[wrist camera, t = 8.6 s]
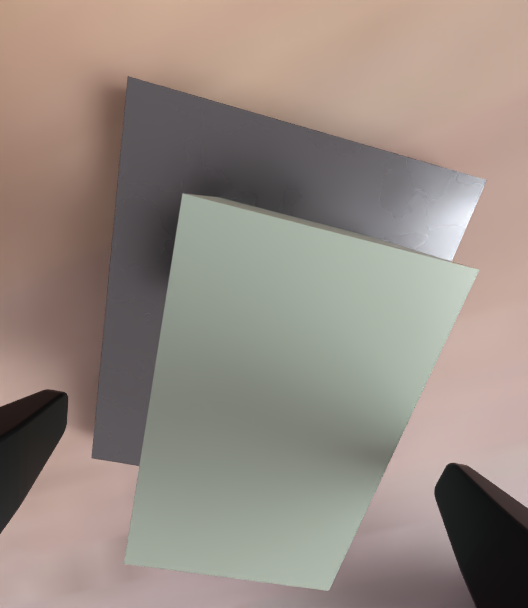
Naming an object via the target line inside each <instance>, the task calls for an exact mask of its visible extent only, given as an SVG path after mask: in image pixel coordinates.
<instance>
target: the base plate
mask: <svg viewBox="0 0 528 608" xmlns="http://www.w3.org/2000/svg"><path fill="white" fill-rule="evenodd" d="M486 181H487V180H485V179H481V178H478V177H474V176H471V175H468V174H464V173H461V172H457V171H454V170H450V169H447V168H443V167H440V166H436V165H433V164H430V163H426V162H423V161H419V160H416V159H412V158H409V157H405V156H402V155H398V154H395V153H391V152H388V151H385V150H381V149H378V148H374V147H371V146H367V145H364V144H360V143H357V142H353V141H350V140H346V139H343V138H340V137H336V136H333V135H329V134H326V133H322V132H319V131H315V130H312V129H308V128H305V127H301V126H298V125H295V124H291V123H288V122H284V121H281V120H277V119H274V118H270V117H267V116H263V115H260V114H256V113H253V112H250V111H246V110H243V109H239V108H236V107H232V106H229V105H225V104H222V103H218V102H215V101H211V100H208V99H205V98H201V97H198V96H194V95H191V94H187V93H184V92H180V91H177V90H173V89H170V88H166V87H163V86H160V85H156V84H153V83H149V82H146V81H142V80H139V79H135V78H132V77H128V80H127V91H126V101H125V112H124V122H123V133H122V143H121V154H120V164H119V175H118V185H117V196H116V206H115V217H114V228H113V238H112V249H111V259H110V270H109V280H108V291H107V301H106V312H105V322H104V333H103V343H102V354H101V364H100V375H99V385H98V396H97V407H96V417H95V428H94V438H93V449H92V458H94V459H100V460H106V461H112V462H118V463H124V464H131V465H137V466H139V465H140V459H141V453H142V446H143V440H144V434H145V427H146V421H147V415H148V408H149V402H150V396H151V389H152V383H153V377H154V370H155V364H156V358H157V351H158V345H159V339H160V332H161V326H162V320H163V313H164V307H165V301H166V295H167V288H168V282H169V276H170V269H171V263H172V257H173V250H174V244H175V238H176V231H177V225H178V219H179V212H180V206H181V200H182V193H184V194H193V195H202V196H212V197H220V198H224V199H227V200H231V201H235V202H239V203H243V204H247V205H251V206H254V207H258V208H262V209H266V210H270V211H274V212H278V213H281V214H285V215H289V216H293V217H297V218H301V219H305V220H308V221H312V222H316V223H320V224H324V225H328V226H332V227H335V228H339V229H343V230H347V231H351V232H355V233H359V234H362V235H366V236H370V237H374V238H377V239H380V240H384V241H387V242H390V243H393V244H397V245H400V246H403V247H406V248H410V249H413V250H416V251H420V252H423V253H426V254H429V255H433V256H436V257H439V258H442V259H446V260H449V261H452V259H453V257H454V254H455V252H456V250H457V247H458V245H459V243H460V241H461V238H462V236H463V234H464V231H465V229H466V227H467V224H468V222H469V220H470V218H471V215H472V213H473V211H474V208H475V206H476V204H477V201H478V199H479V197H480V195H481V192H482V190H483V188H484V185H485V183H486Z"/></svg>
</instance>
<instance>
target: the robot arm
mask: <svg viewBox="0 0 528 608" xmlns="http://www.w3.org/2000/svg"><path fill="white" fill-rule="evenodd" d="M67 411H68V395H67V394H66V393H65V392H61V391H55V390H49V389H46V390H43V391H40V392H37V393H35V394H32V395H30V396H27V397H25V398H22V399H19V400H17V401H14V402H12V403H9V404H6V405H4V406H1V407H0V533H1V532H2V531H3V529H4V528H5V527H6V525H7V524H8V523H9V521H10V520H11V518H12V517H13V515H14V514H15V513H16V511H17V510H18V508H19V507H20V505H21V504H22V502H23V500H24V499H25V497H26V496H27V494H28V492H29V491H30V489H31V487H32V486H33V484H34V482H35V481H36V479H37V477H38V476H39V474H40V472H41V471H42V469H43V467H44V466H45V464H46V462H47V461H48V459H49V457H50V456H51V454H52V452H53V451H54V449H55V447H56V446H57V444H58V442H59V440H60V439H61V437H62V435H63V433H64V431H65V428H66V425H67ZM434 494H435V499H436V502H437V505H438V508H439V511H440V513H441V516H442V519H443V522H444V525H445V528H446V531H447V534H448V537H449V540H450V542H451V545H452V548H453V551H454V554H455V557H456V560H457V562H458V565H459V568H460V571H461V573H462V576H463V578H464V580H465V583H466V585H467V588H468V590H469V592H470V595H471V597H472V599H473V602H474V604H475V606H476V608H528V508H527V507H525V506H524V505H522V504H521V503H520V502H518V501H517V500H515V499H514V498H513V497H511V496H510V495H508V494H507V493H506V492H504V491H503V490H501V489H500V488H499V487H497V486H496V485H494V484H493V483H492V482H490V481H489V480H487V479H486V478H485V477H483V476H482V475H480V474H479V473H478V472H476V471H475V470H473V469H472V468H471V467H469V466H467V465H463V464H457V463H450V464H448V465H447V466H446V468H445V469H444V471H443V473H442V475H441V477H440V479H439V480H438V482H437V484H436V486H435V493H434Z"/></svg>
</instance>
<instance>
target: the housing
mask: <svg viewBox="0 0 528 608" xmlns="http://www.w3.org/2000/svg"><path fill="white" fill-rule="evenodd" d="M478 271H479V270H478V269H475V268H472V267H469V266H465V265H462V264H459V263H455V262H452V261H449V260H446V259H442V258H439V257H436V256H433V255H429V254H426V253H423V252H420V251H416V250H413V249H410V248H406V247H403V246H400V245H397V244H393V243H390V242H387V241H384V240H380V239H377V238H374V237H370V236H366V235H362V234H359V233H355V232H351V231H347V230H343V229H339V228H335V227H332V226H328V225H324V224H320V223H316V222H312V221H308V220H305V219H301V218H297V217H293V216H289V215H285V214H281V213H278V212H274V211H270V210H266V209H262V208H258V207H254V206H251V205H247V204H243V203H239V202H235V201H231V200H227V199H224V198H220V197H212V196H202V195H193V194H184V193H182V200H181V206H180V212H179V219H178V225H177V231H176V238H175V244H174V250H173V257H172V263H171V269H170V276H169V282H168V288H167V295H166V301H165V307H164V313H163V320H162V326H161V332H160V339H159V345H158V351H157V358H156V364H155V370H154V377H153V383H152V389H151V396H150V402H149V408H148V415H147V421H146V427H145V434H144V440H143V446H142V453H141V459H140V465H139V472H138V478H137V484H136V491H135V497H134V503H133V510H132V516H131V522H130V529H129V535H128V541H127V548H126V554H125V560H124V564H129V565H136V566H144V567H151V568H159V569H166V570H174V571H181V572H189V573H197V574H204V575H212V576H219V577H227V578H234V579H242V580H249V581H257V582H264V583H272V584H280V585H287V586H295V587H302V588H310V589H317V590H325V591H329V589H330V587H331V585H332V583H333V581H334V579H335V577H336V574H337V572H338V570H339V568H340V566H341V564H342V562H343V560H344V557H345V555H346V553H347V551H348V549H349V547H350V545H351V542H352V540H353V538H354V536H355V534H356V532H357V530H358V528H359V525H360V523H361V521H362V519H363V517H364V515H365V513H366V510H367V508H368V506H369V504H370V502H371V500H372V498H373V496H374V493H375V491H376V489H377V487H378V485H379V483H380V481H381V478H382V476H383V474H384V472H385V470H386V468H387V466H388V463H389V461H390V459H391V457H392V455H393V453H394V451H395V449H396V446H397V444H398V442H399V440H400V438H401V436H402V434H403V431H404V429H405V427H406V425H407V423H408V421H409V419H410V417H411V414H412V412H413V410H414V408H415V406H416V404H417V402H418V399H419V397H420V395H421V393H422V391H423V389H424V387H425V385H426V382H427V380H428V378H429V376H430V374H431V372H432V370H433V367H434V365H435V363H436V361H437V359H438V357H439V355H440V352H441V350H442V348H443V346H444V344H445V342H446V340H447V338H448V335H449V333H450V331H451V329H452V327H453V325H454V323H455V320H456V318H457V316H458V314H459V312H460V310H461V308H462V306H463V303H464V301H465V299H466V297H467V295H468V293H469V291H470V288H471V286H472V284H473V282H474V280H475V278H476V276H477V273H478Z"/></svg>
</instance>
